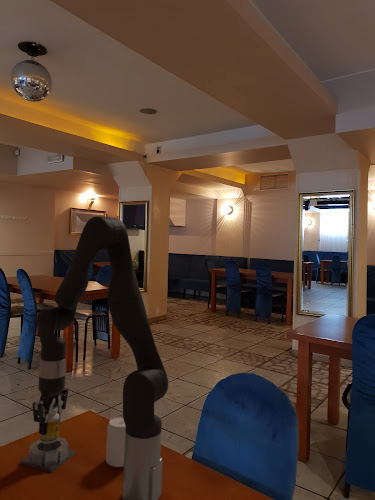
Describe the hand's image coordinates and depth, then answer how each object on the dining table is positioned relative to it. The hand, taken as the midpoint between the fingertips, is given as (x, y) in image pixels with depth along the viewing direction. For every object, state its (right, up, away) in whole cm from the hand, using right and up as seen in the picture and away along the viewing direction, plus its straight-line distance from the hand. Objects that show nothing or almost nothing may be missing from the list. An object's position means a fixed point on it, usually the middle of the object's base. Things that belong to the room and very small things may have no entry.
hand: (49, 429), depth 119 cm
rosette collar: (0, -9, 0) cm, 9 cm away
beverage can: (+21, -10, 0) cm, 23 cm away
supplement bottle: (0, -3, 0) cm, 3 cm away
